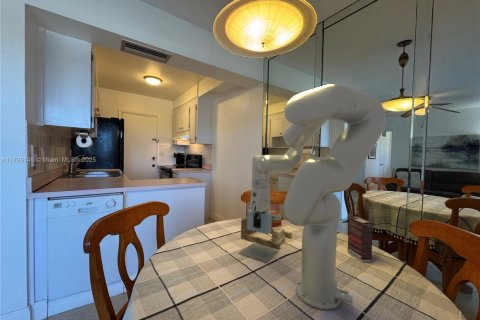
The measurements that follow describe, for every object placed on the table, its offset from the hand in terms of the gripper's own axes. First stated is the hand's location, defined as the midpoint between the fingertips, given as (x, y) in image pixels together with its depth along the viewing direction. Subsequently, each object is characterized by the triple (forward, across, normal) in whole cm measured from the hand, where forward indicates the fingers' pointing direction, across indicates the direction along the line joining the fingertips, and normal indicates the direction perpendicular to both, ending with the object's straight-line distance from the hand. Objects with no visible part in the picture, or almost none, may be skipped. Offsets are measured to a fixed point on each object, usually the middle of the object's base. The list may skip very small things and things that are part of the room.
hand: (259, 225), depth 86 cm
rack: (+12, +16, +5) cm, 20 cm away
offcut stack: (+12, +16, -2) cm, 20 cm away
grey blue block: (+2, 0, 0) cm, 2 cm away
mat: (+12, 0, 0) cm, 12 cm away
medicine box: (+12, +34, +12) cm, 38 cm away
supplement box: (+11, +22, -36) cm, 44 cm away
